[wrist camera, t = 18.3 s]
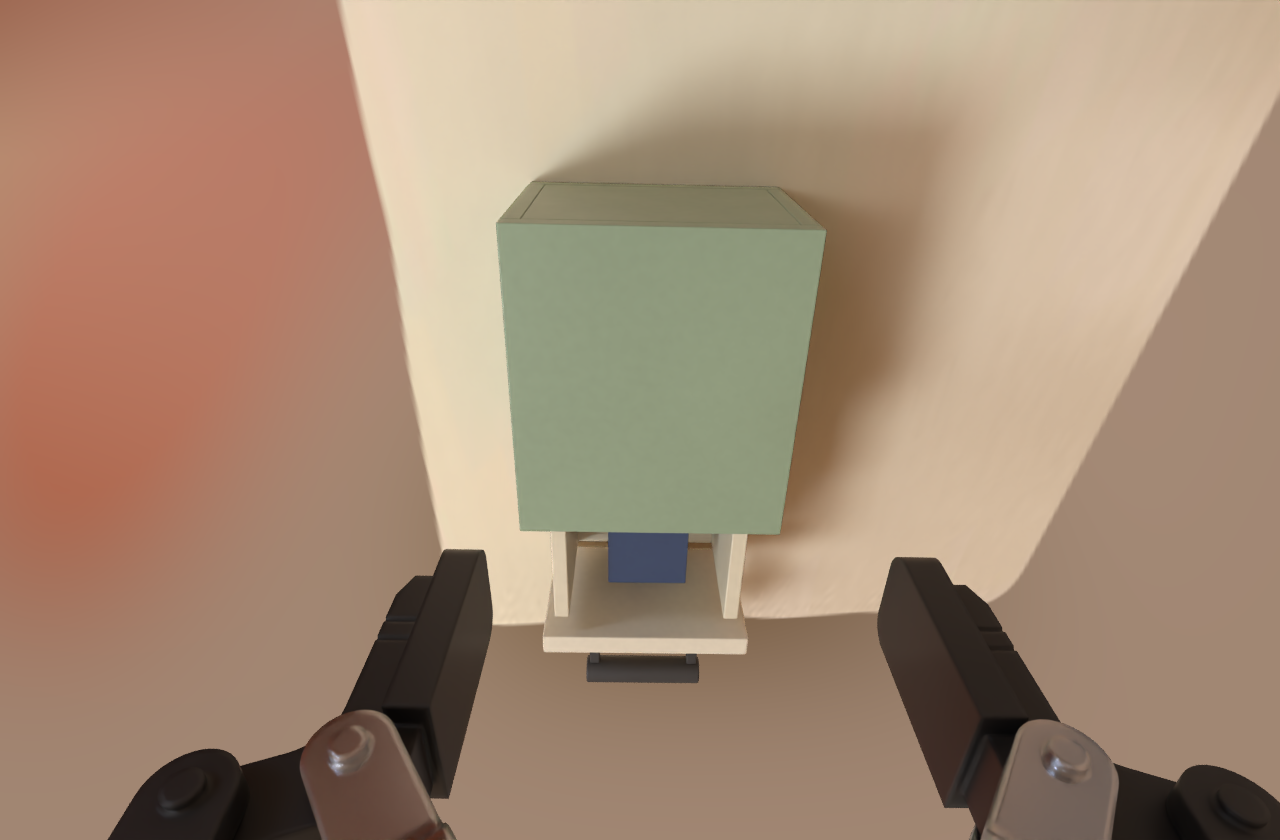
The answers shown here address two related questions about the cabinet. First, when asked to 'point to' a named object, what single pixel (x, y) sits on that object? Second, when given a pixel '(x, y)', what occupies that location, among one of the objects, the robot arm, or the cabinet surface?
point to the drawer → (645, 610)
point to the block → (647, 557)
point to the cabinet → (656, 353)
